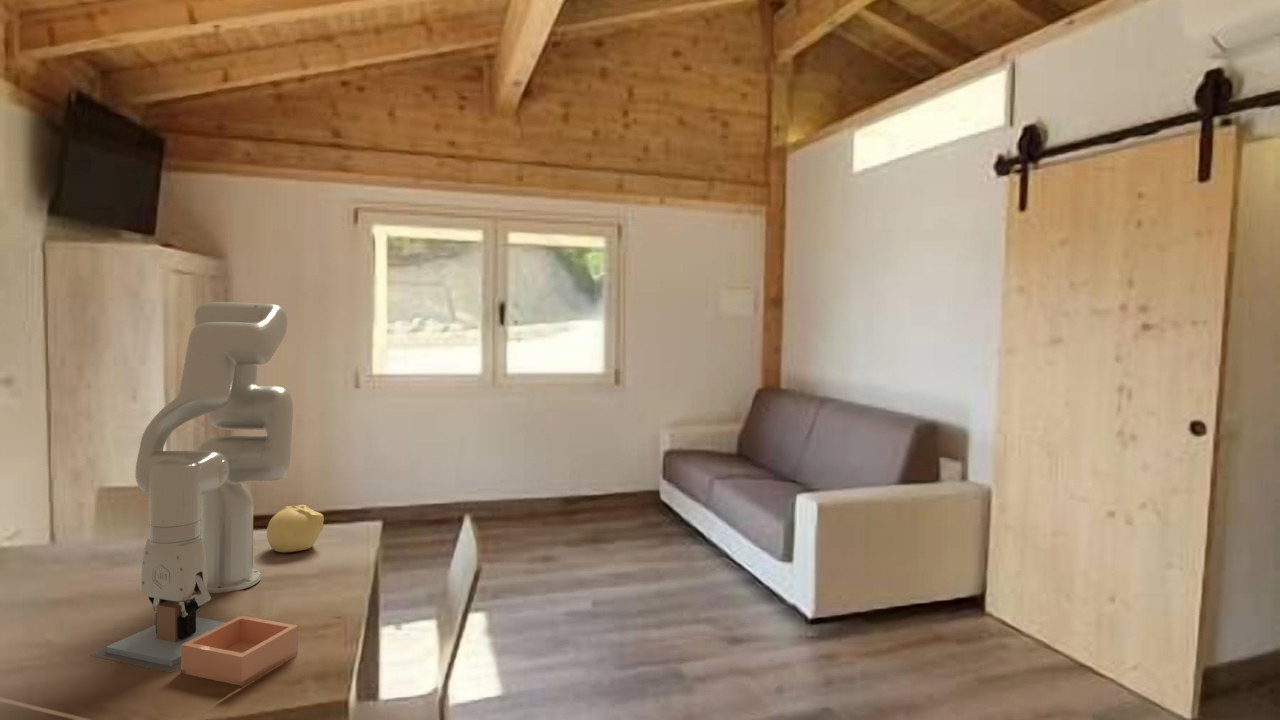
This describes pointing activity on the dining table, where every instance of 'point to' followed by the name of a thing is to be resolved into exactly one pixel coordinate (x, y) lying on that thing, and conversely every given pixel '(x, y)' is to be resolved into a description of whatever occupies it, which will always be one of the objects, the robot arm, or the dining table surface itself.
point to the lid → (161, 637)
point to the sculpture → (294, 528)
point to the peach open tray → (240, 650)
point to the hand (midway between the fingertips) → (176, 632)
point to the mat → (136, 661)
